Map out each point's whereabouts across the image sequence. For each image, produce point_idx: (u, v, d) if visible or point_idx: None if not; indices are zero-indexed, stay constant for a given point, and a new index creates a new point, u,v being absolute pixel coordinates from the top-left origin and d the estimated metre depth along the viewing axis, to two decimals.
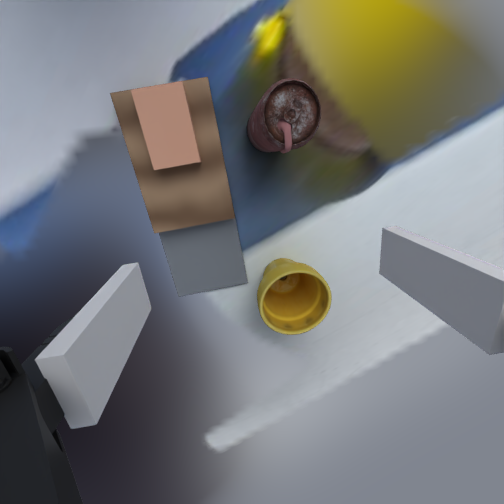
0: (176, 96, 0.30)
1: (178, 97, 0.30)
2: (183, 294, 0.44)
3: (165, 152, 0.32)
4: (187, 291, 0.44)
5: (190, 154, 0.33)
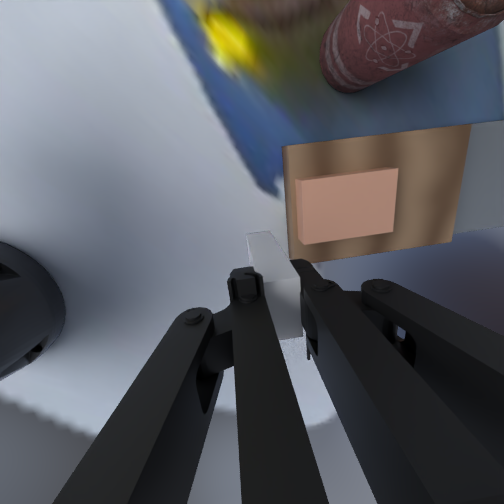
0: (317, 190, 0.23)
1: (318, 188, 0.23)
2: None
3: (376, 214, 0.25)
4: None
5: (386, 181, 0.24)
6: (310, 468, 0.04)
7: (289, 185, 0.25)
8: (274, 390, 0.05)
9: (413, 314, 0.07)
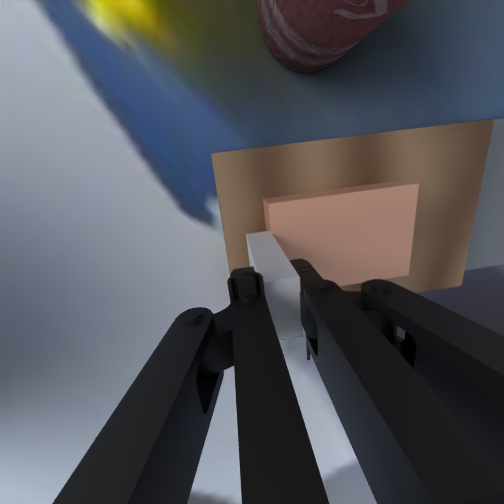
0: (294, 218, 0.15)
1: (296, 214, 0.15)
2: None
3: (385, 252, 0.16)
4: None
5: (400, 203, 0.15)
6: (310, 468, 0.04)
7: None
8: (274, 390, 0.05)
9: (413, 314, 0.07)
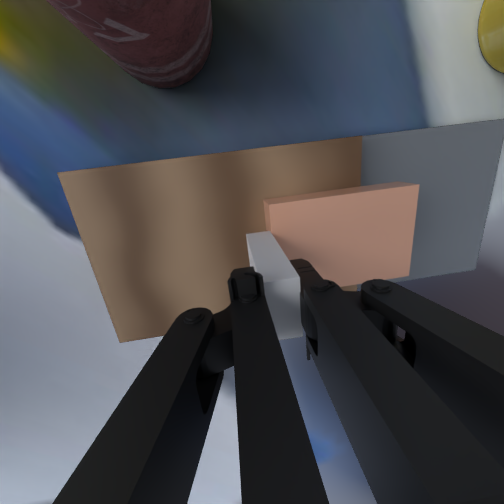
0: (294, 219, 0.15)
1: (296, 215, 0.15)
2: (474, 260, 0.22)
3: (385, 252, 0.16)
4: (471, 252, 0.22)
5: (400, 204, 0.15)
6: (310, 468, 0.04)
7: None
8: (274, 390, 0.05)
9: (413, 314, 0.07)
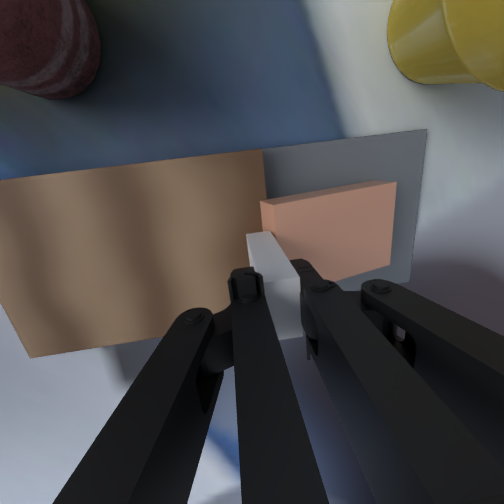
0: (296, 218, 0.15)
1: (298, 214, 0.15)
2: (407, 272, 0.22)
3: (372, 245, 0.18)
4: (403, 264, 0.22)
5: (383, 200, 0.17)
6: (310, 468, 0.04)
7: None
8: (274, 391, 0.05)
9: (413, 314, 0.07)
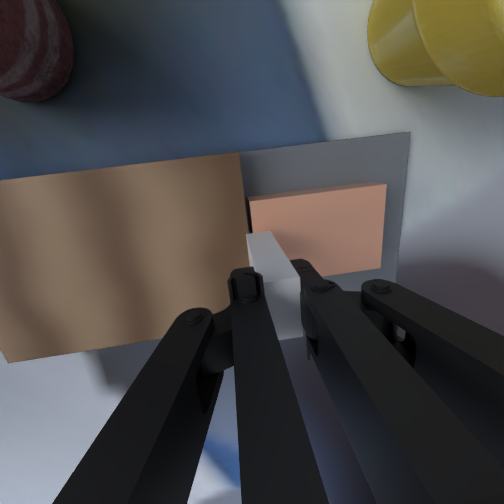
0: (273, 214, 0.17)
1: (275, 211, 0.17)
2: (393, 277, 0.22)
3: (357, 246, 0.18)
4: (388, 268, 0.21)
5: (369, 201, 0.17)
6: (310, 468, 0.04)
7: None
8: (274, 390, 0.05)
9: (413, 314, 0.07)
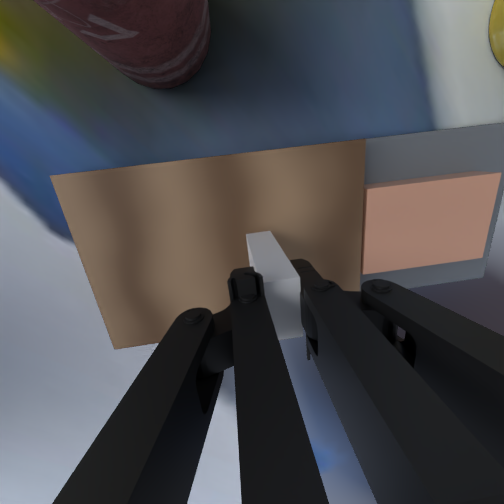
0: (388, 202, 0.17)
1: (390, 199, 0.17)
2: (482, 268, 0.22)
3: (464, 235, 0.18)
4: (479, 260, 0.21)
5: (482, 190, 0.17)
6: (310, 468, 0.04)
7: None
8: (274, 390, 0.05)
9: (413, 314, 0.07)
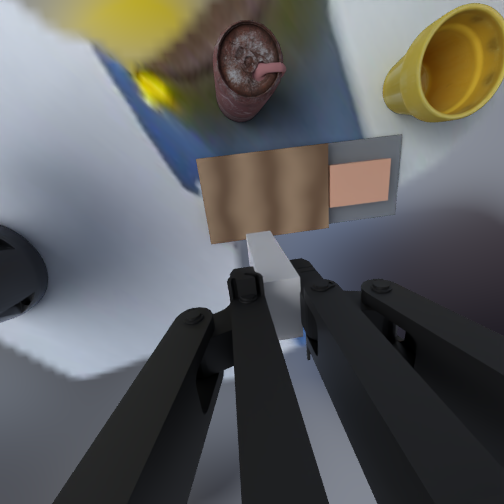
0: (339, 172, 0.37)
1: (340, 170, 0.37)
2: (394, 209, 0.42)
3: (377, 188, 0.38)
4: (391, 204, 0.41)
5: (383, 166, 0.37)
6: (310, 468, 0.04)
7: (201, 186, 0.36)
8: (274, 390, 0.05)
9: (413, 314, 0.07)
